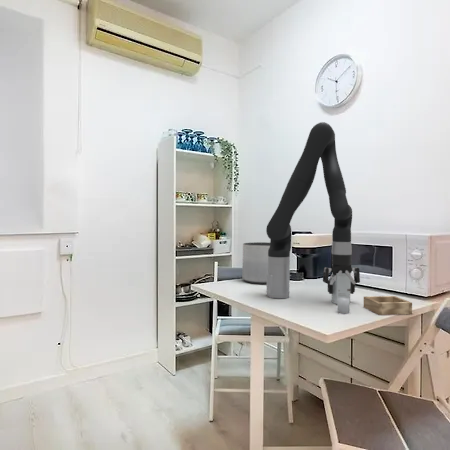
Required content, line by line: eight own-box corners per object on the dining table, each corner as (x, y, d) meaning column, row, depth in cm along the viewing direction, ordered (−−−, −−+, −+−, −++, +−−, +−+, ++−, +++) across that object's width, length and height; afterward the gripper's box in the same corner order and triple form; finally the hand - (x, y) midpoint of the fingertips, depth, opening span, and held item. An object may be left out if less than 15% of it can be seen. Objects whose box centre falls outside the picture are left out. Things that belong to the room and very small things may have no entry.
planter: (233, 280, 181) (233, 243, 181) (261, 276, 196) (261, 241, 196) (265, 287, 165) (266, 246, 164) (293, 281, 180) (293, 244, 180)
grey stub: (340, 314, 118) (340, 299, 118) (335, 310, 122) (335, 297, 122) (351, 313, 119) (351, 299, 118) (346, 310, 123) (346, 297, 122)
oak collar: (378, 314, 117) (378, 303, 117) (363, 307, 128) (363, 296, 127) (412, 314, 118) (412, 302, 118) (394, 306, 129) (394, 296, 129)
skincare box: (337, 304, 131) (337, 273, 131) (330, 302, 135) (331, 272, 135) (351, 304, 132) (351, 273, 132) (344, 301, 137) (344, 271, 136)
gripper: (328, 254, 129) (327, 296, 129) (363, 253, 130) (363, 295, 131) (320, 252, 136) (320, 292, 137) (354, 251, 138) (353, 291, 138)
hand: (341, 293), depth 134 cm, fingers open, 8 cm apart
